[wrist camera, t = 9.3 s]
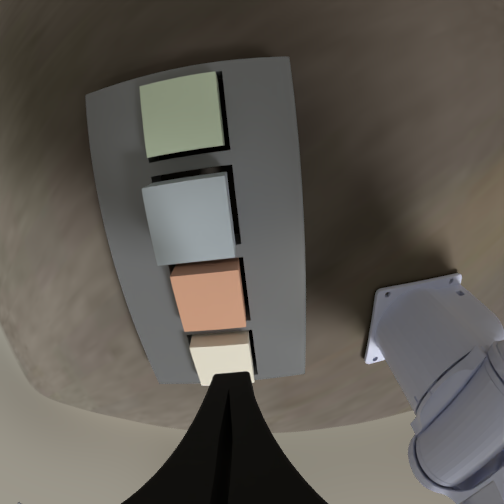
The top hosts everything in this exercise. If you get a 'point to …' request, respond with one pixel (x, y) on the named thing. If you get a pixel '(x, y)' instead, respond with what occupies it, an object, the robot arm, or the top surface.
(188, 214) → the key slate
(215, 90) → the key sage
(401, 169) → the top surface
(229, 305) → the key terracotta
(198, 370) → the key ivory
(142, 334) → the grey slotted tray
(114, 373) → the top surface
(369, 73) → the top surface
